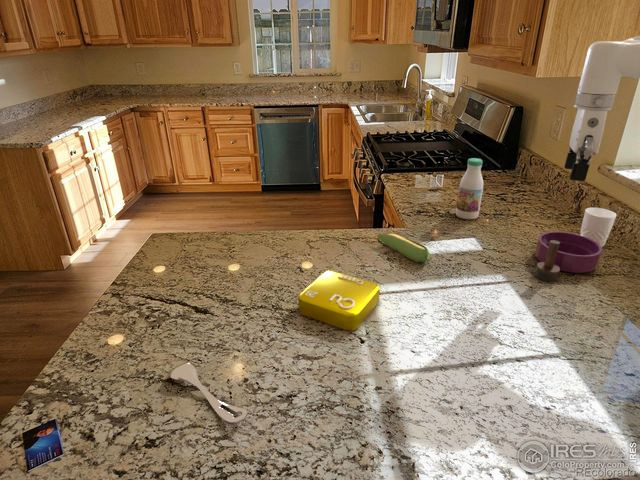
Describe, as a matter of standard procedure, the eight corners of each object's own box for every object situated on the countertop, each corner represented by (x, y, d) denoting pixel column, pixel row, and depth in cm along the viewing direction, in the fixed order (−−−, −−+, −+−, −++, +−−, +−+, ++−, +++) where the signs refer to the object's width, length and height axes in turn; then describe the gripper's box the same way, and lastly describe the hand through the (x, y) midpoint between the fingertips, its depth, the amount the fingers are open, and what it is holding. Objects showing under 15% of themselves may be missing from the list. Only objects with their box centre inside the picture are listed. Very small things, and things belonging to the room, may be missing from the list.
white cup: (580, 247, 126) (590, 216, 122) (573, 236, 133) (581, 206, 129) (610, 250, 125) (620, 218, 120) (601, 238, 131) (610, 208, 127)
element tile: (381, 299, 102) (383, 282, 100) (354, 333, 90) (354, 315, 88) (327, 283, 109) (327, 266, 107) (295, 313, 97) (294, 295, 95)
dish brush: (553, 272, 113) (562, 237, 109) (560, 282, 108) (570, 247, 104) (531, 270, 114) (540, 236, 109) (538, 281, 109) (547, 245, 105)
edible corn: (421, 268, 116) (422, 253, 114) (372, 241, 130) (373, 228, 128) (434, 262, 118) (436, 248, 116) (385, 237, 133) (385, 224, 131)
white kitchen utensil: (253, 400, 69) (231, 418, 66) (256, 416, 71) (234, 434, 67) (183, 353, 81) (161, 366, 78) (187, 368, 83) (165, 381, 79)
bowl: (583, 249, 125) (588, 233, 122) (606, 276, 111) (612, 258, 109) (527, 246, 127) (531, 229, 124) (544, 272, 113) (549, 254, 111)
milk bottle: (458, 209, 153) (466, 155, 145) (480, 214, 150) (490, 158, 141) (452, 217, 147) (460, 160, 139) (475, 221, 144) (485, 164, 135)
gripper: (622, 108, 88) (598, 186, 95) (605, 97, 102) (585, 166, 110) (581, 105, 90) (561, 183, 98) (570, 95, 105) (553, 163, 112)
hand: (573, 174), depth 104 cm, fingers open, 9 cm apart
